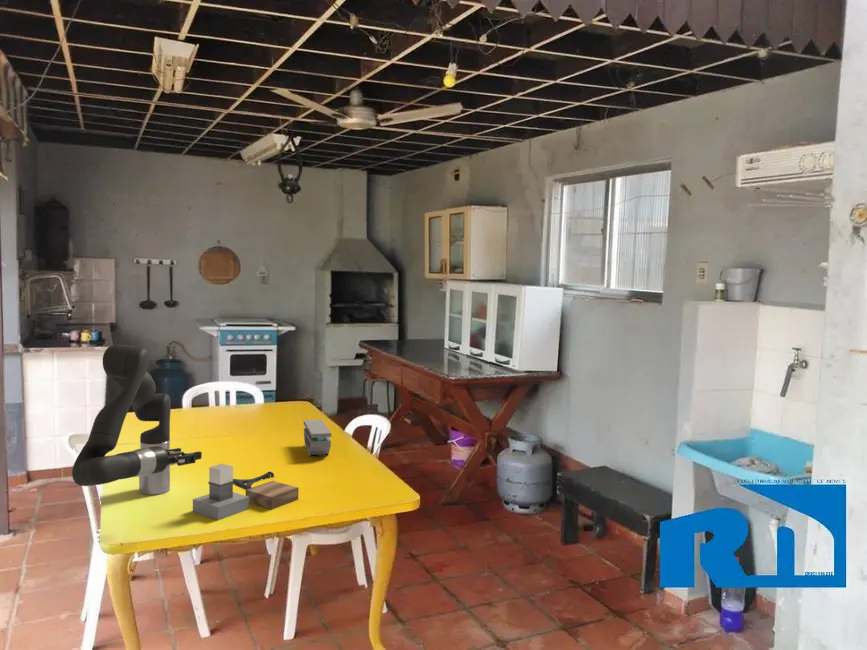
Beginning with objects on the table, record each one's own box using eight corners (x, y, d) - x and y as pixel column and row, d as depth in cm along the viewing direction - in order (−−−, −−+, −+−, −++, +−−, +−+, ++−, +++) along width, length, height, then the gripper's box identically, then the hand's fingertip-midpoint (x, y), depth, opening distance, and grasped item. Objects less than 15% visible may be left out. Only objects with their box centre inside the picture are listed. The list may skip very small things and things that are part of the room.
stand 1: (192, 511, 213) (192, 499, 212) (223, 501, 223) (223, 489, 223) (218, 520, 206) (218, 507, 206) (248, 509, 216) (248, 496, 216)
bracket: (284, 483, 245) (284, 475, 245) (247, 491, 235) (247, 483, 234) (262, 474, 255) (262, 466, 255) (226, 481, 245) (226, 474, 244)
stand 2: (245, 501, 223) (245, 489, 223) (272, 492, 233) (272, 480, 233) (271, 509, 217) (271, 497, 216) (298, 499, 227) (298, 487, 226)
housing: (208, 498, 213) (208, 467, 213) (222, 493, 218) (222, 463, 217) (219, 502, 211) (220, 470, 210) (233, 497, 215) (233, 466, 214)
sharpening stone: (331, 459, 274) (331, 433, 273) (311, 460, 272) (311, 434, 271) (321, 443, 298) (321, 419, 297) (303, 444, 295) (303, 420, 295)
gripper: (164, 451, 187) (208, 443, 202) (128, 445, 194) (173, 438, 208) (163, 478, 187) (207, 468, 202) (127, 471, 194) (172, 462, 208)
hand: (190, 453), depth 205 cm, fingers open, 8 cm apart
